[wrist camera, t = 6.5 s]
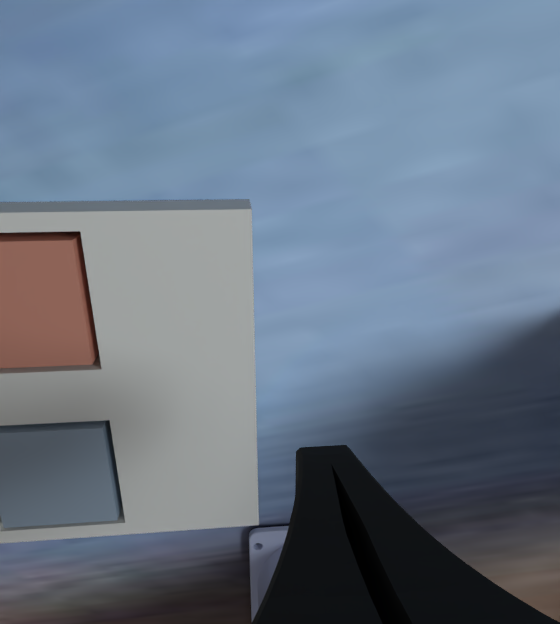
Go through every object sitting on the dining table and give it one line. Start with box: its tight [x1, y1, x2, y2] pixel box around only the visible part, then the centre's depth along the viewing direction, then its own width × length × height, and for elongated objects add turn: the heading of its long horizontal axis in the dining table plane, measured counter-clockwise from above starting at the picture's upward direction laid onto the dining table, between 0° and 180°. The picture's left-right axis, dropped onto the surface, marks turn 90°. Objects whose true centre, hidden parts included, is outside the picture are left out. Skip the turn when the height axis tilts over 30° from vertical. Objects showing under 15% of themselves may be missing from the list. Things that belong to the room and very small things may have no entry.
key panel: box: [0, 199, 259, 543], centre depth 20 cm, size 15×18×3 cm
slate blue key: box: [0, 420, 122, 528], centre depth 21 cm, size 5×5×3 cm
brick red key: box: [0, 231, 99, 368], centre depth 19 cm, size 5×5×3 cm
